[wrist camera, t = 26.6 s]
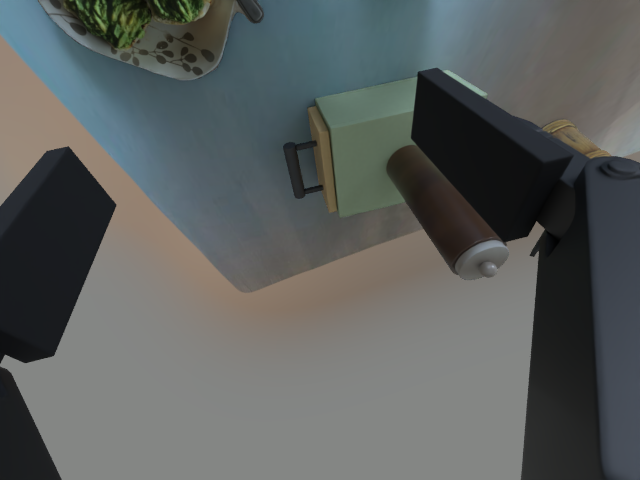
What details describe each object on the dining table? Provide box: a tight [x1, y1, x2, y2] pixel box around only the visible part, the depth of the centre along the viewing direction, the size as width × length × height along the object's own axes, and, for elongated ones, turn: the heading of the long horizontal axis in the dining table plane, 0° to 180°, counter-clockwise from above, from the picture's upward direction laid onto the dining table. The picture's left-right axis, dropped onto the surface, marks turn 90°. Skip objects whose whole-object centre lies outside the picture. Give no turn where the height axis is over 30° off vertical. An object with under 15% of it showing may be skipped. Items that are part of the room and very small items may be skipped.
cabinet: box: [315, 70, 488, 218], centre depth 42 cm, size 19×14×9 cm
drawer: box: [283, 106, 337, 213], centre depth 41 cm, size 22×12×7 cm, turn 97°
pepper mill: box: [386, 145, 509, 280], centre depth 32 cm, size 5×5×19 cm
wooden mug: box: [542, 119, 611, 159], centre depth 47 cm, size 9×14×18 cm, turn 109°
